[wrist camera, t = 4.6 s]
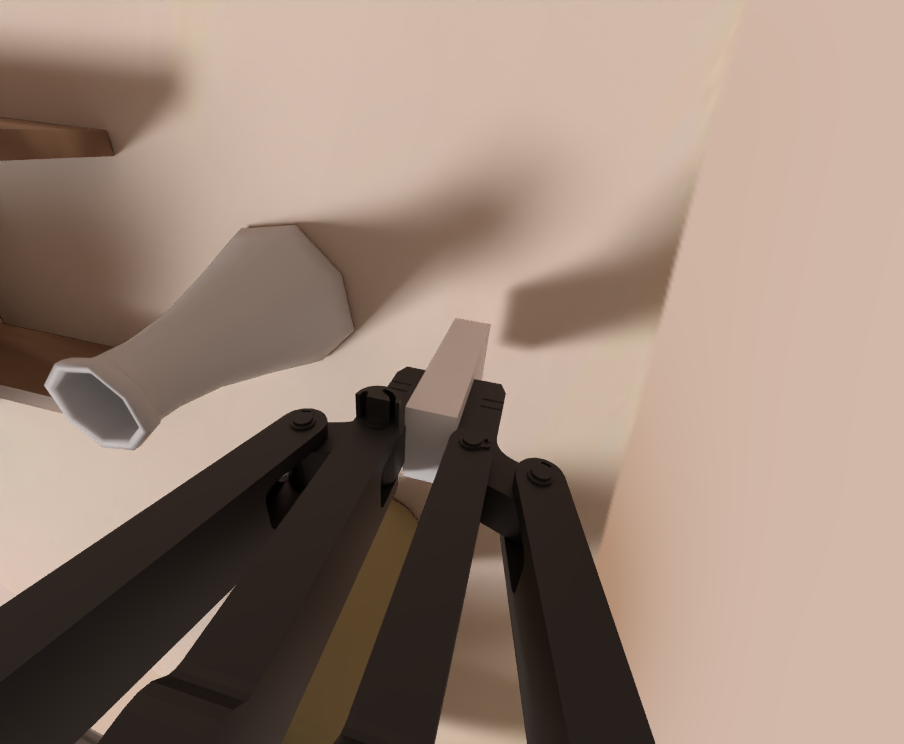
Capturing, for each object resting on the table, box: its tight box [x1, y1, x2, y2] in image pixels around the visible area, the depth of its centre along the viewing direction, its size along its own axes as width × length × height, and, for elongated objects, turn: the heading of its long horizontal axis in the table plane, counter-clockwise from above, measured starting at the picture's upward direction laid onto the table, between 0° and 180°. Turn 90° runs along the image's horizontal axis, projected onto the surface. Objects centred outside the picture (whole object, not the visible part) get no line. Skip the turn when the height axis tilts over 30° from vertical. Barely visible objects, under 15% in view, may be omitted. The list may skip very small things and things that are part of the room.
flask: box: [44, 225, 354, 450], centre depth 16 cm, size 7×7×10 cm
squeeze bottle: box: [282, 500, 418, 744], centre depth 20 cm, size 8×8×18 cm
